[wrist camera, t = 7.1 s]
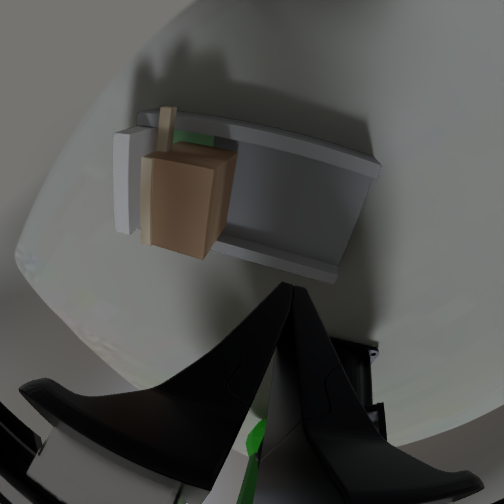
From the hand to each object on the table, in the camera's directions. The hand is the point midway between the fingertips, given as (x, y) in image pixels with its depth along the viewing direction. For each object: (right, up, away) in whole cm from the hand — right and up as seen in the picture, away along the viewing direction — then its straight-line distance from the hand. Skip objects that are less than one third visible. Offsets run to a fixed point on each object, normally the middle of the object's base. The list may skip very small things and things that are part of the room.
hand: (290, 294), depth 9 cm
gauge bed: (-2, +6, +8) cm, 10 cm away
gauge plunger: (-4, +6, +7) cm, 10 cm away
